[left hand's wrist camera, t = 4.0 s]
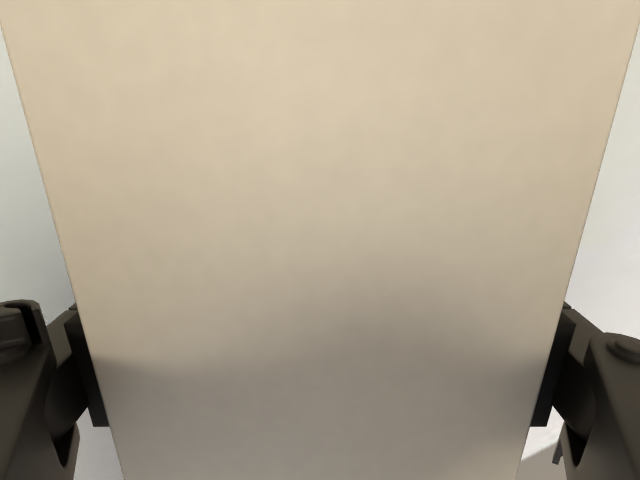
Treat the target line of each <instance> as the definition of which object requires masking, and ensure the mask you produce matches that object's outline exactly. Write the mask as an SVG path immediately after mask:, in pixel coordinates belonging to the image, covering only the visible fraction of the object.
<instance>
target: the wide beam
mask: <svg viewBox="0 0 640 480" xmlns="http://www.w3.org/2000/svg"><path fill="white" fill-rule="evenodd" d="M639 24H640V0H0V26H1V29H2V33H3V37H4V40H5V44H6V48H7V51H8V55H9V59H10V62H11V66H12V70H13V73H14V77H15V81H16V84H17V88H18V92H19V95H20V99H21V103H22V106H23V110H24V114H25V117H26V121H27V125H28V128H29V132H30V136H31V139H32V143H33V147H34V150H35V154H36V158H37V161H38V165H39V169H40V172H41V176H42V180H43V183H44V187H45V191H46V194H47V198H48V202H49V205H50V209H51V213H52V216H53V220H54V224H55V227H56V231H57V235H58V238H59V242H60V246H61V249H62V253H63V257H64V260H65V264H66V268H67V271H68V275H69V279H70V282H71V286H72V290H73V293H74V297H75V301H76V304H77V308H78V312H79V315H80V319H81V323H82V326H83V330H84V334H85V337H86V341H87V345H88V348H89V352H90V356H91V359H92V363H93V367H94V370H95V374H96V378H97V381H98V385H99V389H100V392H101V396H102V400H103V403H104V407H105V411H106V414H107V418H108V422H109V425H110V429H111V433H112V436H113V440H114V444H115V447H116V451H117V455H118V458H119V462H120V466H121V469H122V473H123V477H124V480H515V479H516V475H517V472H518V468H519V465H520V461H521V457H522V454H523V450H524V446H525V443H526V439H527V435H528V432H529V428H530V424H531V420H532V417H533V413H534V409H535V406H536V402H537V398H538V395H539V391H540V387H541V384H542V380H543V376H544V373H545V369H546V365H547V362H548V358H549V354H550V351H551V347H552V343H553V340H554V336H555V332H556V329H557V325H558V321H559V318H560V314H561V310H562V307H563V303H564V299H565V296H566V292H567V288H568V285H569V281H570V277H571V274H572V270H573V266H574V263H575V259H576V255H577V252H578V248H579V244H580V241H581V237H582V233H583V229H584V226H585V222H586V218H587V215H588V211H589V207H590V204H591V200H592V196H593V193H594V189H595V185H596V182H597V178H598V174H599V171H600V167H601V163H602V160H603V156H604V152H605V149H606V145H607V141H608V138H609V134H610V130H611V127H612V123H613V119H614V116H615V112H616V108H617V105H618V101H619V97H620V94H621V90H622V86H623V83H624V79H625V75H626V72H627V68H628V64H629V61H630V57H631V53H632V50H633V46H634V42H635V38H636V35H637V31H638V27H639Z"/></svg>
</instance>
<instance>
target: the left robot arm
mask: <svg viewBox="0 0 640 480" xmlns="http://www.w3.org/2000/svg"><path fill="white" fill-rule="evenodd" d="M552 406H553V407H554V408H555V409H556V410H557V412H558V413H559V414H560V416H561V417H562V418H563V419H564V423H563V426H562V429H561V433H560V436H559V439H558V442H557V445H556V448H555V452H554V455H553V461H552V463H554V464H557V465H558V463H559V460H560V457H561V456H563V458H564V464H565V470H566V477H567V480H640V340H639V339H636V338H633V337H629V336H626V335H622V334H616V333H608V332H606V333H603V332H602V331H601V330H599V329H598V328H597V327H596V326H595V325H593V324H592V323H591V322H590V321H588V320H587V319H586V318H585V317H583V316H582V315H581V314H580V313H578V312H577V311H576V310H575V309H571V306H570V305H568V304H567V303H566V302H565V301H564V303H563V307H562V310H561V314H560V318H559V321H558V325H557V329H556V332H555V336H554V340H553V343H552V347H551V351H550V354H549V358H548V362H547V365H546V369H545V373H544V376H543V380H542V384H541V387H540V391H539V395H538V398H537V402H536V406H535V409H534V413H533V417H532V420H531V424H530V427H546V426H547V423H548V419H549V416H550V412H551V409H552ZM87 407H88V410H89V413H90V417H91V420H92V424H93V427H110V425H109V422H108V418H107V414H106V411H105V407H104V403H103V400H102V396H101V392H100V389H99V385H98V381H97V378H96V374H95V370H94V367H93V363H92V359H91V356H90V352H89V348H88V345H87V341H86V337H85V334H84V330H83V326H82V323H81V319H80V315H79V312H78V308H77V304H76V303H75V304H73V305H72V306H71V307H70V308H69V310H66V311H65V312H64V313H62V314H61V315H60V316H59V317H57V318H56V319H55V320H54V321H53V322H51V323H50V324H49V325H48V326H46V324H45V321H44V318H43V315H42V312H41V309H40V305H39V303H37V302H35V301H33V300H13V301H6V302H2V303H0V480H73V478H74V472H75V465H76V459H77V453H78V447H79V441H80V435H79V429H78V426H77V423H76V421H77V420H78V419H79V417H80V416H81V415H82V413H83V412H84V411H85V410H86V408H87Z"/></svg>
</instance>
